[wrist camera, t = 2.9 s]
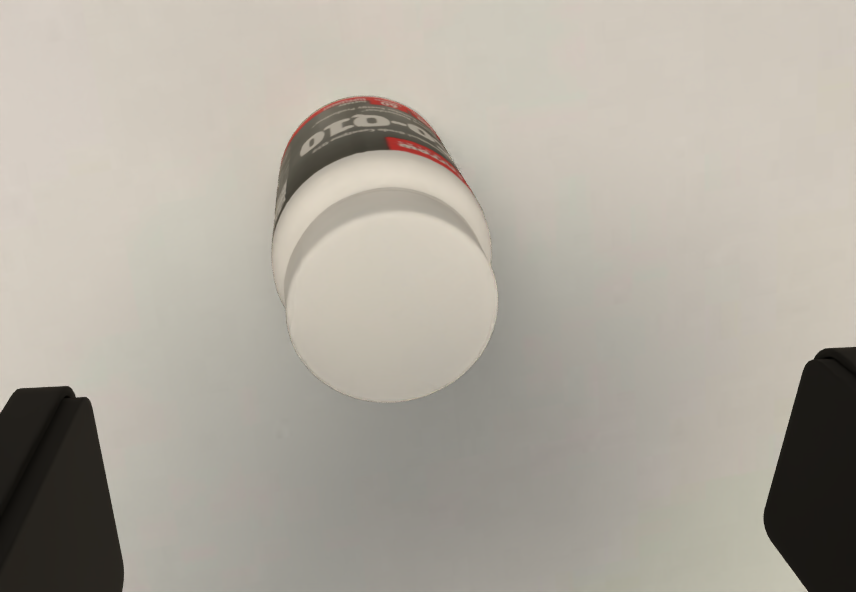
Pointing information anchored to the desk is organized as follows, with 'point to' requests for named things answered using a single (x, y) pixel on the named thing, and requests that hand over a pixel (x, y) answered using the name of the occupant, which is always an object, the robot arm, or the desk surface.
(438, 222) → the pill bottle
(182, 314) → the desk surface
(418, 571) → the desk surface
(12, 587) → the robot arm
